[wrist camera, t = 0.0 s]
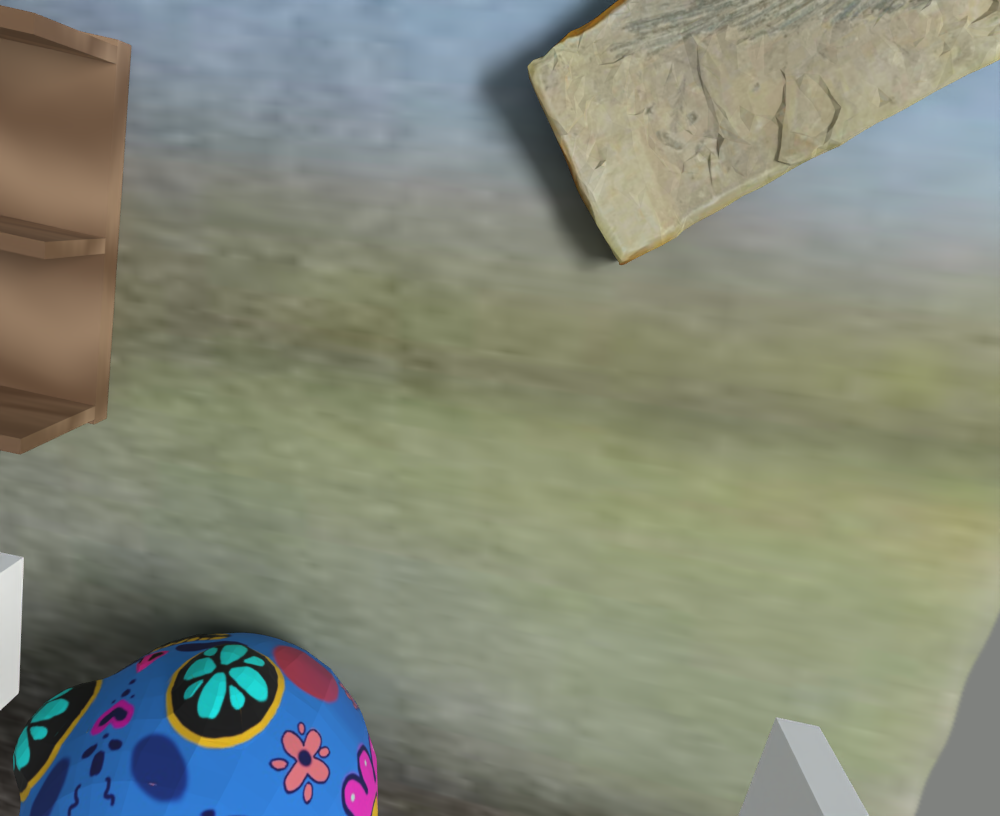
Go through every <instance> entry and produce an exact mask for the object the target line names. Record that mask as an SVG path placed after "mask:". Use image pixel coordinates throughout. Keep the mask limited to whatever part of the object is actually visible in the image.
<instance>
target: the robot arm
mask: <svg viewBox="0 0 1000 816" xmlns="http://www.w3.org/2000/svg"><path fill="white" fill-rule="evenodd" d="M23 562H24V557H20V556H16V555H11V554H6V553H1V552H0V710H1V709H2V708H3V707H4V706H5V705H7V704H8V703H9V702H10V701H11V700H12V699H13V698H14V697H15V696H16V695H17V694H18V693H19V676H20V647H21V619H22V591H23ZM739 816H869V814H868V813H867V811H866V809H865V807H864V805H863V804H862V802H861V800H860V798H859V797H858V795H857V793H856V791H855V789H854V788H853V786H852V784H851V782H850V781H849V779H848V777H847V775H846V773H845V772H844V770H843V768H842V766H841V765H840V763H839V761H838V759H837V757H836V756H835V754H834V752H833V750H832V749H831V747H830V745H829V743H828V741H827V740H826V738H825V736H824V734H823V733H822V731H821V729H820V727H819V726H814V725H810V724H805V723H800V722H796V721H791V720H786V719H781V718H777V717H776V719H775V721H774V724H773V727H772V729H771V732H770V734H769V737H768V740H767V742H766V745H765V748H764V750H763V753H762V755H761V758H760V761H759V763H758V766H757V769H756V771H755V774H754V776H753V779H752V782H751V784H750V787H749V790H748V792H747V795H746V797H745V800H744V803H743V805H742V808H741V811H740V813H739Z"/></svg>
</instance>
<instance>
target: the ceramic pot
mask: <svg viewBox="0 0 1000 816" xmlns="http://www.w3.org/2000/svg"><path fill="white" fill-rule="evenodd" d="M13 765H14V774H15V778H16V781H17V785H18V788H19V791H20V797H21V808H20V814H19V816H377V815H378V789H377V760H376V755H375V752H374V749H373V746H372V743H371V740H370V737H369V734H368V731H367V728H366V725H365V722H364V719H363V716H362V713H361V711H360V709H359V707H358V705H357V703H356V702H355V701H354V699H353V698H352V697H351V695H350V694H349V693H348V691H347V690H346V689H345V687H344V686H343V685H342V683H341V682H340V681H339V679H338V678H337V677H336V675H335V674H334V673H333V671H332V670H331V669H330V668H329V667H328V666H326V665H325V664H324V663H322V662H321V661H319V660H318V659H317V658H315V657H314V656H313V655H311V654H310V653H309V652H307V651H305V650H303V649H302V648H300V647H298V646H296V645H294V644H291V643H288V642H285V641H283V640H280V639H277V638H274V637H270V636H266V635H260V634H254V633H221V634H211V635H207V634H200V635H194V636H191V637H187V638H183V639H180V640H177V641H173V642H170V643H167V644H165V645H163V646H160V647H158V648H156V649H155V650H153V651H152V652H150V653H149V654H147V655H145V656H143V657H141V658H140V659H138V660H137V661H135V662H133V663H132V664H130V665H128V666H127V667H125V668H124V669H122V670H121V671H119V672H117V673H116V674H114V675H112V676H110V677H108V678H105V679H102V680H97V681H93V682H88V683H83V684H80V685H77V686H74V687H71V688H68V689H66V690H64V691H62V692H60V693H59V694H57V695H56V696H54V697H53V698H51V699H50V700H48V701H47V702H46V703H45V704H44V705H43V706H42V707H41V708H40V709H39V710H38V711H37V712H36V713H35V714H34V715H33V716H32V718H31V719H30V720H29V721H28V723H27V725H26V726H25V728H24V730H23V731H22V733H21V735H20V737H19V738H18V740H17V744H16V748H15V751H14V755H13Z"/></svg>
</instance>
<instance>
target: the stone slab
mask: <svg viewBox="0 0 1000 816" xmlns="http://www.w3.org/2000/svg"><path fill="white" fill-rule="evenodd" d="M998 60H1000V0H618V1H617V2H615V3H614V4H613V5H611V6H610V7H609V8H608V9H606V10H605V11H604V12H602V13H601V14H600V15H599V16H597V17H596V18H595V19H594V20H592V21H590V22H589V23H587V24H585V25H584V26H582V27H580V28H578V29H575V30H573V31H571V32H569V33H568V34H567V35H566V36H565V37H564V38H563V39H561V40H560V41H559V42H558V43H557V44H556V45H555V46H554V47H553V48H551V49H550V50H549V51H548V53H547V54H546V55H545V56H543V57H540V58H538V59H535V60H533V61H532V62H531V63H530V64H529V65H528V66H527V67H528V74H529V79H530V81H531V84H532V86H533V88H534V91H535V93H536V95H537V97H538V100H539V102H540V104H541V106H542V109H543V111H544V113H545V115H546V117H547V119H548V121H549V123H550V126H551V128H552V130H553V132H554V134H555V137H556V139H557V141H558V143H559V146H560V148H561V150H562V152H563V155H564V157H565V159H566V162H567V165H568V167H569V170H570V172H571V175H572V177H573V180H574V182H575V185H576V188H577V190H578V192H579V194H580V196H581V198H582V200H583V202H584V204H585V205H586V207H587V209H588V211H589V212H590V214H591V216H592V217H593V219H594V221H595V223H596V224H597V226H598V228H599V230H600V231H601V233H602V235H603V237H604V238H605V240H606V242H607V243H608V245H609V247H610V248H611V250H612V252H613V254H614V256H615V257H616V259H617V260H618V262H619V265H624V264H626V263H628V262H630V261H632V260H633V259H635V258H637V257H639V256H641V255H643V254H645V253H647V252H649V251H651V250H653V249H655V248H657V247H659V246H661V245H663V244H665V243H667V242H669V241H670V240H672V239H674V238H676V237H677V236H678V235H679V234H680V233H681V232H682V231H683V230H685V229H687V228H688V227H690V226H691V225H693V224H695V223H696V222H698V221H700V220H702V219H704V218H706V217H708V216H709V215H711V214H713V213H715V212H717V211H719V210H721V209H722V208H724V207H726V206H728V205H729V204H731V203H732V202H734V201H736V200H737V199H739V198H740V197H742V196H744V195H746V194H748V193H750V192H752V191H754V190H757V189H759V188H761V187H763V186H765V185H766V184H768V183H770V182H771V181H773V180H775V179H777V178H778V177H780V176H782V175H783V174H785V173H786V172H788V171H789V170H791V169H793V168H795V167H797V166H798V165H800V164H802V163H804V162H806V161H808V160H810V159H812V158H814V157H816V156H818V155H820V154H823V153H825V152H827V151H829V150H831V149H834V148H836V147H838V146H840V145H842V144H843V143H845V142H847V141H848V140H850V139H851V138H853V137H854V136H856V135H858V134H859V133H861V132H863V131H864V130H866V129H868V128H869V127H871V126H872V125H874V124H876V123H878V122H880V121H882V120H884V119H886V118H888V117H890V116H892V115H894V114H896V113H898V112H900V111H902V110H903V109H905V108H907V107H909V106H911V105H913V104H914V103H916V102H918V101H920V100H921V99H923V98H925V97H926V96H928V95H930V94H932V93H933V92H935V91H937V90H939V89H941V88H943V87H945V86H947V85H948V84H950V83H952V82H954V81H956V80H958V79H960V78H962V77H964V76H966V75H968V74H970V73H972V72H974V71H977V70H979V69H981V68H983V67H985V66H988V65H990V64H992V63H994V62H996V61H998Z"/></svg>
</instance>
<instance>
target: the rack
mask: <svg viewBox="0 0 1000 816" xmlns="http://www.w3.org/2000/svg"><path fill="white" fill-rule="evenodd" d="M130 58H131V45H129V44H127V43H124V42H122V41H119V40H116V39H112V38H107V37H103V36H98V35H94V34H90V33H85V32H81V31H78V30H75V29H73V28H70V27H68V26H65V25H63V24H60V23H58V22H56V21H53V20H51V19H48V18H46V17H43V16H41V15H38V14H36V13H32V12H28V11H23V10H19V9H14V8H10V7H5V6H1V5H0V450H2V451H6V452H11V453H16V454H22V453H25V452H27V451H29V450H31V449H33V448H35V447H37V446H39V445H41V444H44V443H46V442H48V441H50V440H52V439H54V438H56V437H58V436H60V435H63V434H65V433H67V432H69V431H71V430H73V429H75V428H77V427H80V426H82V425H84V424H86V423H90V424H96V423H98V422H100V421H102V420H104V419H106V418H107V404H108V389H109V374H110V359H111V344H112V329H113V314H114V299H115V284H116V269H117V254H118V239H119V223H120V208H121V193H122V178H123V163H124V148H125V133H126V118H127V103H128V88H129V73H130Z"/></svg>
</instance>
